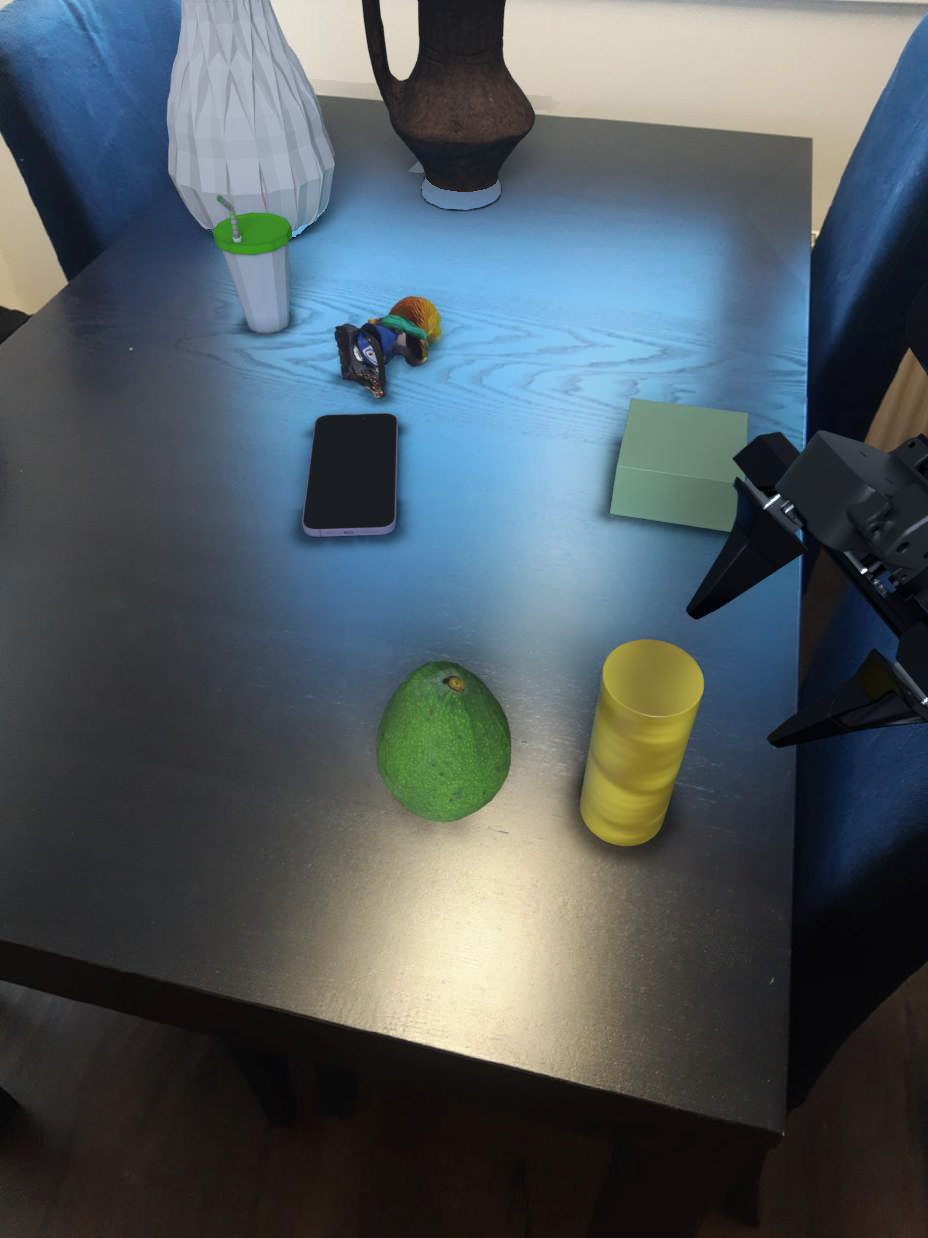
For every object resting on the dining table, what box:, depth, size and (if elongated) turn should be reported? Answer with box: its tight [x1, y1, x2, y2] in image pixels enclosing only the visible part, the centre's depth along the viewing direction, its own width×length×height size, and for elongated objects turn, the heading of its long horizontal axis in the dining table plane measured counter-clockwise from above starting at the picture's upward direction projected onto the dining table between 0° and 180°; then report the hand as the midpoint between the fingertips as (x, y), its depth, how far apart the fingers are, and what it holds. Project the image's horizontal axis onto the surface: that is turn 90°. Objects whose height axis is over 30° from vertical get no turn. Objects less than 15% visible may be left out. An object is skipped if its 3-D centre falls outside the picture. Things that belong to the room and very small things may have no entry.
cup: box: [211, 195, 292, 335], centre depth 91 cm, size 8×8×15 cm
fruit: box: [375, 660, 512, 823], centre depth 51 cm, size 8×8×12 cm
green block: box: [609, 397, 749, 533], centre depth 75 cm, size 10×10×5 cm
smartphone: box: [301, 412, 399, 538], centre depth 77 cm, size 8×1×16 cm
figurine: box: [333, 295, 443, 399], centre depth 88 cm, size 11×8×6 cm, turn 128°
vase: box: [166, 0, 336, 232], centre depth 102 cm, size 20×20×30 cm
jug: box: [361, 0, 536, 192], centre depth 109 cm, size 21×18×30 cm
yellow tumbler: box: [579, 638, 705, 847], centre depth 50 cm, size 5×5×13 cm
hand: (728, 675), depth 47 cm, fingers open, 9 cm apart
